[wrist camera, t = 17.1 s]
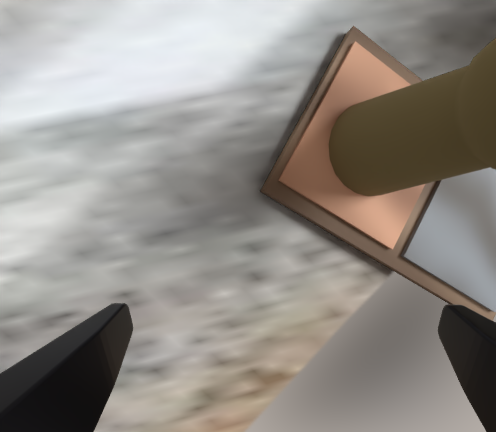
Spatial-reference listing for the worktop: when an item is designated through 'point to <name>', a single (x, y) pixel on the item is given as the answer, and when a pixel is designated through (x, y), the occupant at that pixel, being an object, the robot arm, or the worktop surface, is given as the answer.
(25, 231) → the worktop surface
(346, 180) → the cork
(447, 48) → the worktop surface
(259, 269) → the worktop surface
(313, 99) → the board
